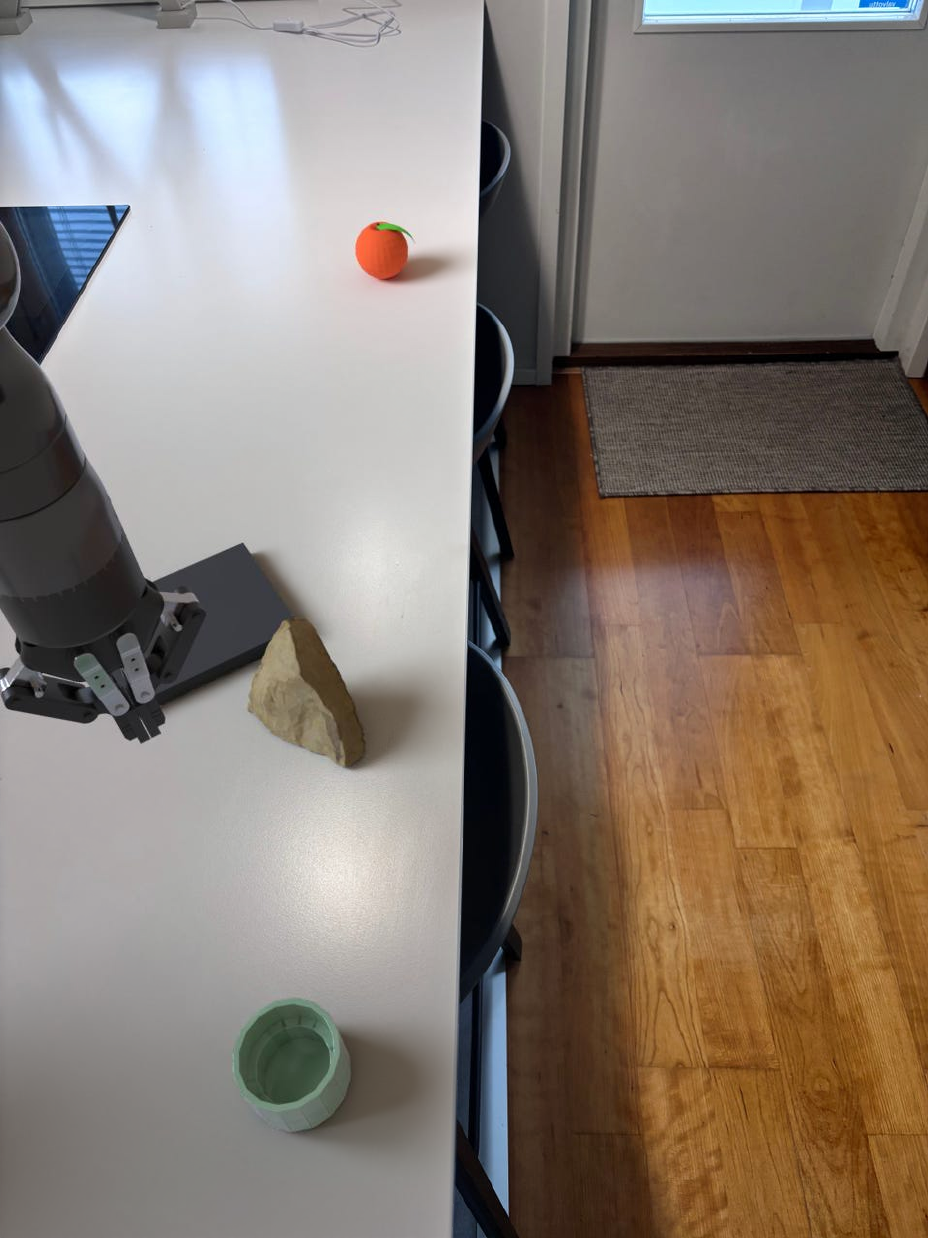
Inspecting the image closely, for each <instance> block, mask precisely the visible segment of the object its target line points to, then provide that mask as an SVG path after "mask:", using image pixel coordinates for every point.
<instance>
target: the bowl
mask: <svg viewBox="0 0 928 1238" xmlns="http://www.w3.org/2000/svg"><path fill="white" fill-rule="evenodd" d="M233 1047H234V1048H233V1050H232V1076H233V1078H234V1081H235V1083H236V1086H237V1088H238V1090H239V1092H240V1094H241V1096H242V1097H243V1098H244V1099H245V1101H246V1102H247V1103H248V1104H249V1105H250V1106H251V1108H252V1109H253V1110H254V1111H255V1113H256V1114H257V1115H258V1116H259V1117H260V1118H261V1119H262V1120H263V1121H265V1122H266V1123H267V1124H268V1125H269V1126H270V1127H272V1128H273V1129H274V1128H275V1129H277V1130H281V1131H285V1132H289V1133H294V1132H300V1131H305V1130H310V1129H312V1128H313V1129H315V1128H316V1127H317V1126H319V1125H320V1124H322V1123H323V1122H324V1121H326V1120H328V1119H329V1118H331V1117H332V1116H333V1115H334V1113H335V1112H336V1111H337V1109H338V1108H339V1107H340V1105H341V1104H342V1102H344V1099H345V1098H346V1095H347V1093H348V1090H349V1085H350V1082H351V1078H352V1067H351V1055H350V1053H349V1051H348V1049H347V1047H346V1044H345V1042H344V1040H343V1038H342V1036H341V1033H340V1031H339V1029H338V1028H337V1025H336V1023H335V1022H334V1019H333V1017H332V1016H331V1014H330V1013H329V1012H328V1011H327V1010H326V1009H324V1008H323V1007H321V1005H319V1004H318V1003H317V1002H315V1001H312V1000H308V999H303V998H300V997H290V998H285V999H283V998H282V999H278V1000H274V1001H272V1002H270V1003H269V1004H267V1005H266V1006H264V1007H262V1008H260V1009H259V1010H257V1011H256V1012H254V1013H253V1014H252V1015H251V1017H250V1018H249V1020H248V1021H247V1022H246V1023H245V1024H244V1025H243V1027H242V1028H241V1029H240V1031H239V1034H238V1036H237V1039H236V1042H235V1044H234V1046H233Z"/></svg>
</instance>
